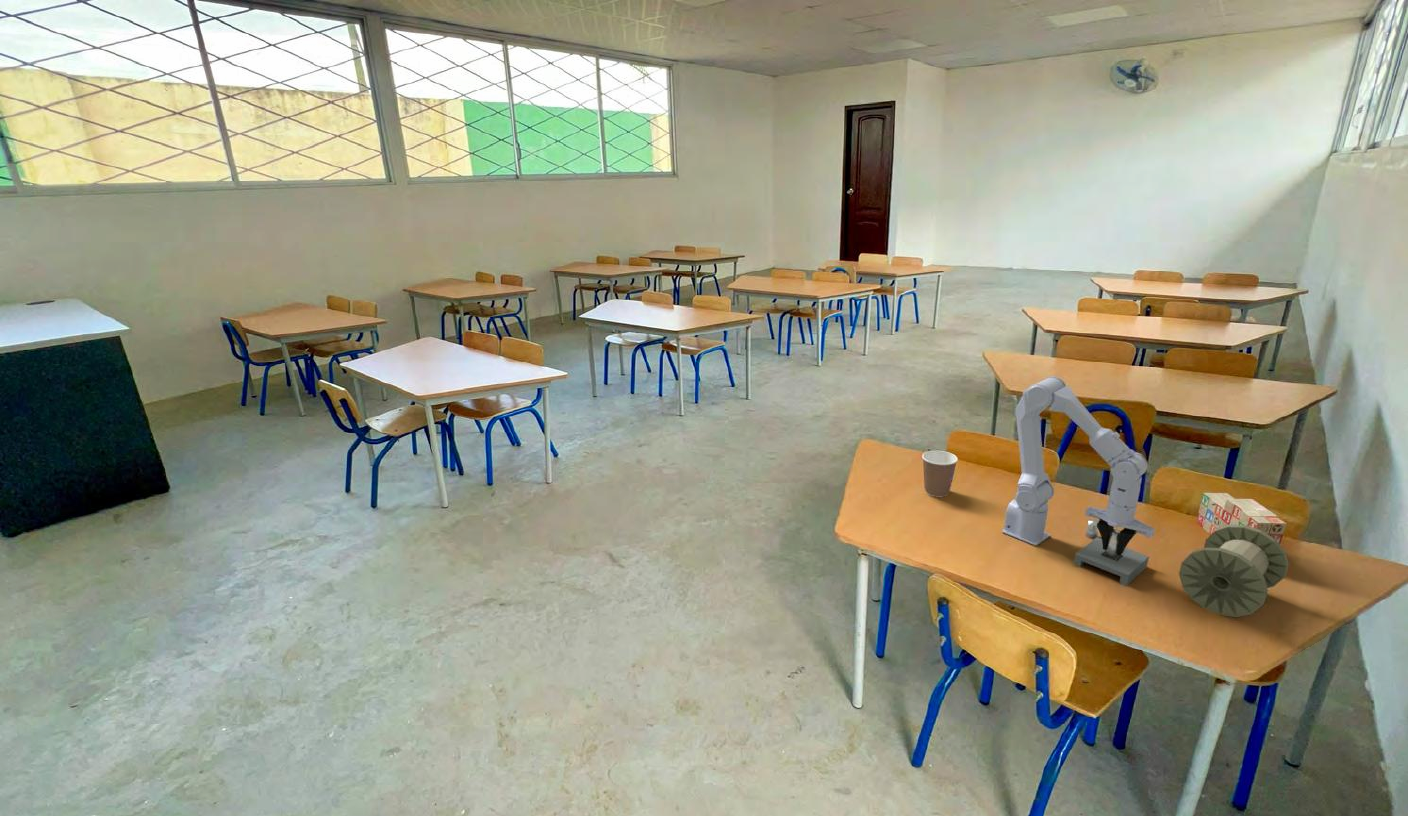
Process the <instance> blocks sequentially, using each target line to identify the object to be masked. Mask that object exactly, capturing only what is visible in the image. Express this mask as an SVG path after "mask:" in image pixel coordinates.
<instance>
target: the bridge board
mask: <svg viewBox="0 0 1408 816" xmlns="http://www.w3.org/2000/svg"><path fill="white" fill-rule="evenodd" d="M1105 554H1106V550H1104V549H1103V544H1102V538H1101V537H1098V536H1097V537H1096V538H1095V539H1093V540H1091V541H1090V542H1089V543H1087V544H1086V545H1085V546H1084V547H1083V548H1081V549H1080V550H1079V551H1077V552H1076V553H1075V555H1074V560H1073V565H1074V564H1075V566H1078V567H1082V566H1083V565H1085V564H1089V565H1091V566H1093V567H1096V568H1099V569H1101V570H1103V571H1106V572H1109V573H1111V574H1114V575H1116V576H1119V577H1120V578H1119V584H1121V585H1123V586H1125V587H1126V586H1128V585H1129V584H1130V583H1131V582H1132V581H1134V580H1135V578H1136V577H1137V576H1139V575H1140V574H1141V573H1142V572H1143V571H1144V570H1145V569H1146V568H1147V567H1148V563H1149V562H1148V561H1149V558H1150V556H1148V555H1146V554H1145V553H1141V552H1138V551H1136V550H1133V549H1130V548H1127V547H1125V549H1124V552H1123V553H1122V554H1121V555H1120V556H1119V555H1118V558H1117V561H1115V560H1113V559H1110V558H1107V557H1105Z"/></svg>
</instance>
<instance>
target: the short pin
mask: <svg viewBox="0 0 1408 816" xmlns="http://www.w3.org/2000/svg"><path fill="white" fill-rule="evenodd" d="M1098 522H1099V519H1098V520H1097V519H1096V518H1090V519H1088V521H1087V527H1086V532H1085V537H1087V538H1088V539H1093V540H1094V539H1095V538H1096V537H1098V533H1099V530H1098V528H1097V523H1098Z"/></svg>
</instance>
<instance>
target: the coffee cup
mask: <svg viewBox="0 0 1408 816" xmlns="http://www.w3.org/2000/svg"><path fill="white" fill-rule="evenodd" d="M921 457H922V461H923V463H922V465H923V485H924V492H925V491H926V492H927V493H928V494H929V495H928V494H927V493H926V492H925V493H926V494H927V495H928V496H930V495H932V496H931V497H934V496H936V497H935V498H944V497H943V496H945V497H946V495H947V496H948V495H949V493H950V490H951V487H952V483H953V479H954V475H955V469H956V464H957V462H958V461H959V458H958V457H957V455H955V454H953V453H951V452H948V451H943V450H928V451H924V453H922V456H921Z"/></svg>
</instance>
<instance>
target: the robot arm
mask: <svg viewBox="0 0 1408 816" xmlns="http://www.w3.org/2000/svg"><path fill="white" fill-rule="evenodd" d="M1049 406H1050V408H1049V409H1048V411H1050V412H1057V413H1064V414H1065V415H1066V416H1067V417H1068V418H1069V419H1070V420H1072V422H1074V423H1075V424H1076V425H1077V427H1079V428H1080V429H1081V430H1082V431H1083V432H1084V433H1085V434H1087V436H1089V445H1090V446H1091V447H1092V448H1093V449H1094V451H1095V452H1096V453H1097V454H1098V455H1099V456H1100V457H1101V458H1102V459H1103V460H1104V462H1106V463H1107V464H1108V465H1109V466H1110V473H1111V476H1112V482H1111V487H1110V490H1109V491H1110V492H1109V498H1108V501H1107V506H1106V509H1103V508H1102V509H1101V508H1097V507H1094V506H1088V507H1087V508H1085V512H1084V513H1085V514H1084V516H1085V517H1092V518H1093V519H1096V520H1097V519H1098V521H1099V522H1098V523H1097V528H1098V533H1099V534H1100V539H1102V544H1103V549H1104V550H1106V549H1107V544H1108V539H1109V534H1110V530H1111V529H1115V528H1118V527H1120V528H1123V529H1121V530H1120V533H1119V546H1118V549H1117V555H1119V556H1120V555H1121V554H1122V553H1123V552H1124V549H1125V548H1127V545H1128V544H1129V542H1130V541H1131V540H1132V539H1133V538H1134V537H1135V535H1136V534H1141V535H1144V536H1145V537H1146V538H1148V539H1151V538H1152V537H1153V536H1154V534H1155V530H1156V528H1155V527H1152V526H1151V525H1148V524H1146V523H1143V522H1141V521H1139V520H1138V519H1136V518H1135V514H1136V510H1137V506H1138V501H1139V496H1140V493H1141V484H1142V480H1143V479H1142V478H1143V477H1142V476H1143V474H1145V473H1146V471H1147V470H1148V465H1149V464H1148V461H1147V459H1146V458H1145V456H1144V455H1143V454H1142V453H1139V452H1136V451H1135V450H1134V449H1131V448H1129V446H1128V445H1127V444H1125V442H1124V441H1123V440H1122V439H1121V438H1120V437H1121V435H1120V434H1119V433H1118V431H1115V432H1114V431H1113V430H1112V429H1110V428H1104V427H1102V426H1101V424H1100V423H1099V422H1098V421H1097V420H1096V419H1095V417H1093V415H1091V413H1090V412H1089V410H1088V409H1087V408H1086V407H1085V406H1084V405H1083V404H1082V402H1081V401H1080V399H1078V397H1077V396H1076V394H1075V393H1074V391H1073V389H1072V388H1071V387H1070V386H1068V385H1067V384H1066V382H1065V381H1064V380H1063V379H1062V378H1060V377H1058V376H1047V377H1045V378H1044V379H1043V380H1041V381H1039V382H1037V383H1034V384H1032V385H1030V386H1028V388H1026V389H1025V390H1024V391H1022V396H1021V398H1020V400H1019V402H1018V404H1017V406H1016V407H1015V418H1016V419H1015V420H1016V426H1017V428H1016V430H1017V438H1018V449H1019V459H1020V466H1021V467H1020V468H1021V475H1020V476H1019V477H1020V478H1019V480H1018V483H1017V490H1016V493H1015V495H1014V499H1012V500H1011V501H1010V502H1009V504H1008V506H1007V508H1006V510H1005V519H1004V524H1003V525H1004V526H1003V529H1002V534H1005V535H1008V536H1011V537H1013V538H1015V539H1018V540H1020V541H1023V542H1025V543H1028V544H1029V545H1030V544H1031V545H1032V546H1038V545H1039V544H1041V543H1042V542H1044V541H1045V540H1046V539H1048V538H1050V537H1051V534H1050V533H1048V532H1046V531H1045V530H1046V524H1047V518H1048V513H1049V504H1048V502H1049V500H1051V499H1052V498H1053V497H1054V495H1055V488H1054V486H1053V484H1052V483H1051V481H1050V475H1049V474H1048V473H1047V472H1046V471H1045V466H1044V464H1045V463H1044V453H1043V442H1042V433H1041V423H1040V422H1041V421H1040V420H1041V419H1040V414H1041V413H1042V412H1043V411H1044V410H1045V409H1047V407H1049Z"/></svg>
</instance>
